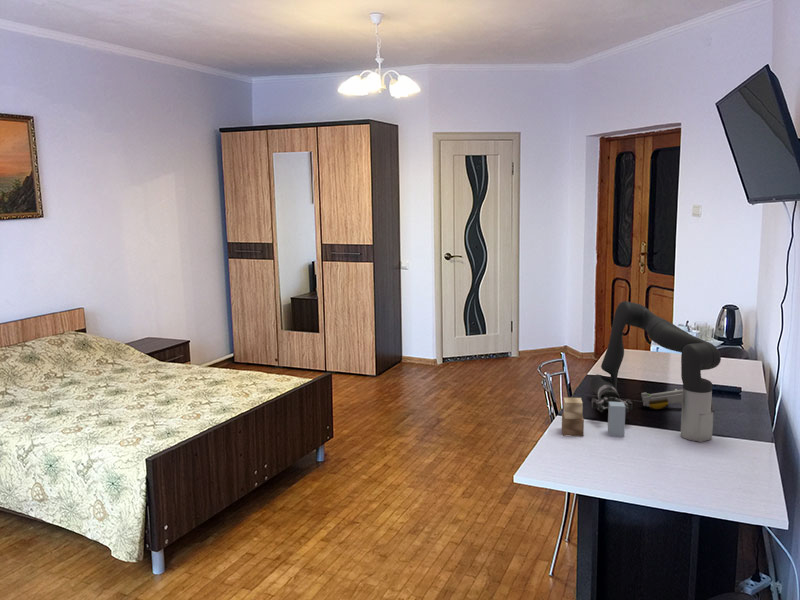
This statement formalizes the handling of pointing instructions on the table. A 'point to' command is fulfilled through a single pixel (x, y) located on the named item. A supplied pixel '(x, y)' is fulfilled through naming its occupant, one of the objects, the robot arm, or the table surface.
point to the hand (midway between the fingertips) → (614, 410)
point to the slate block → (616, 419)
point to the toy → (664, 399)
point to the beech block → (573, 408)
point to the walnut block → (572, 426)
